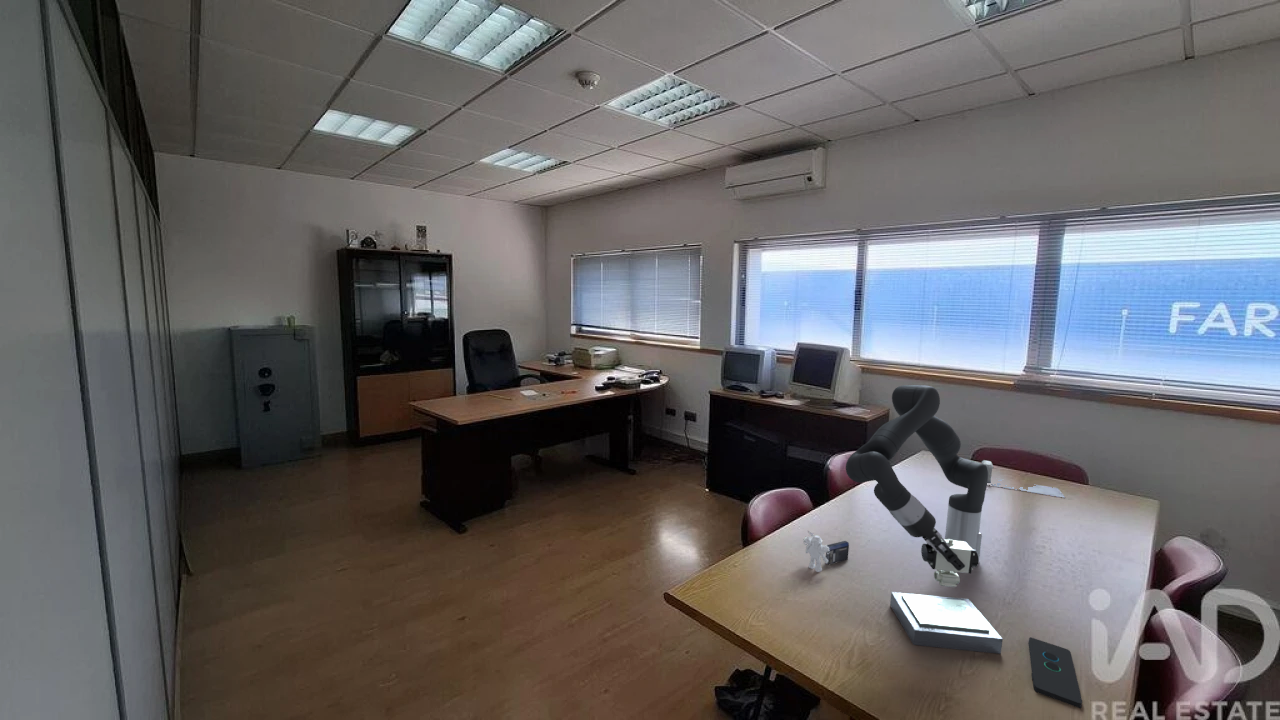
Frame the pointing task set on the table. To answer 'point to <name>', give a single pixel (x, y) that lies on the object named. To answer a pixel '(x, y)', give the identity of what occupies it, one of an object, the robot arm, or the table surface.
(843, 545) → the mini dv tape
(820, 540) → the hat wearing toy figure
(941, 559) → the pneumatic valve
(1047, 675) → the smart home device
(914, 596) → the grey picture frame
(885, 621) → the table surface
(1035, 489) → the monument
